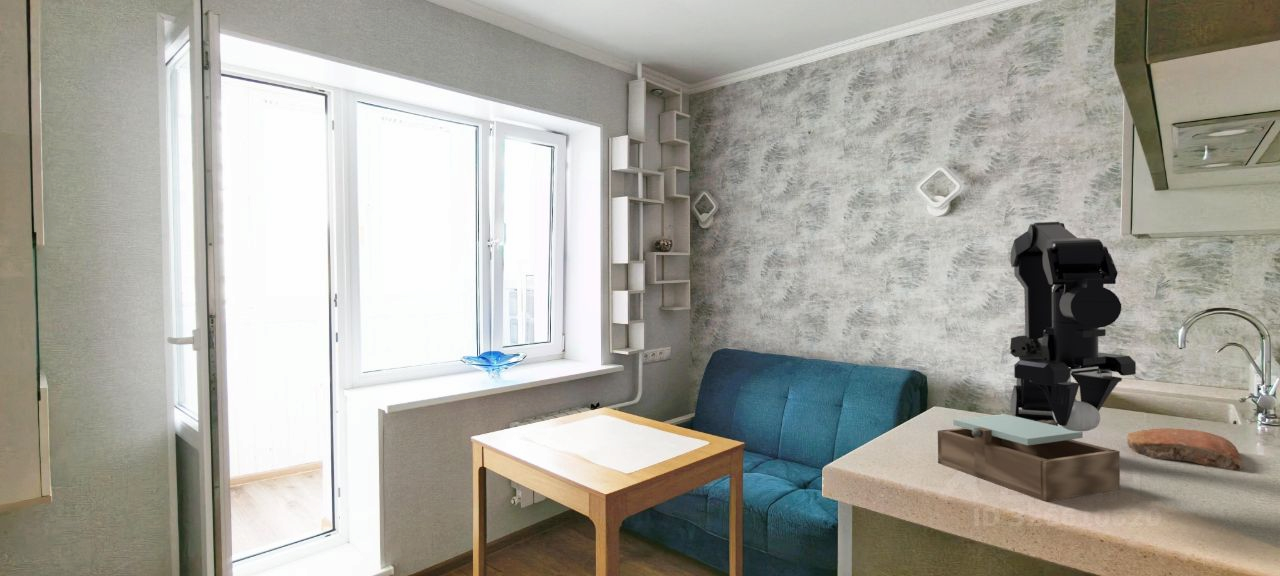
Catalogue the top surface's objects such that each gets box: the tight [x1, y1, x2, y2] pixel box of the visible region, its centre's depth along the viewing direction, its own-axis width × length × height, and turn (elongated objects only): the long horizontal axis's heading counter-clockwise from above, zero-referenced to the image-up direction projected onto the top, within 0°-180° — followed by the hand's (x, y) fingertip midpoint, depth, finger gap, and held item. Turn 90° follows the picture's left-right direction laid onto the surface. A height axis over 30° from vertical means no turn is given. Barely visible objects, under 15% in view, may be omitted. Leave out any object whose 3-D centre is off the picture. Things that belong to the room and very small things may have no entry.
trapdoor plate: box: [952, 413, 1084, 445], centre depth 100 cm, size 12×14×1 cm
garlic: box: [1053, 398, 1101, 432], centre depth 91 cm, size 6×5×5 cm
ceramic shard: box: [1126, 427, 1243, 472], centre depth 109 cm, size 15×6×15 cm
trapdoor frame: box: [937, 420, 1121, 502], centre depth 99 cm, size 18×20×8 cm
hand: (1075, 423), depth 91 cm, fingers closed on garlic, 5 cm apart
